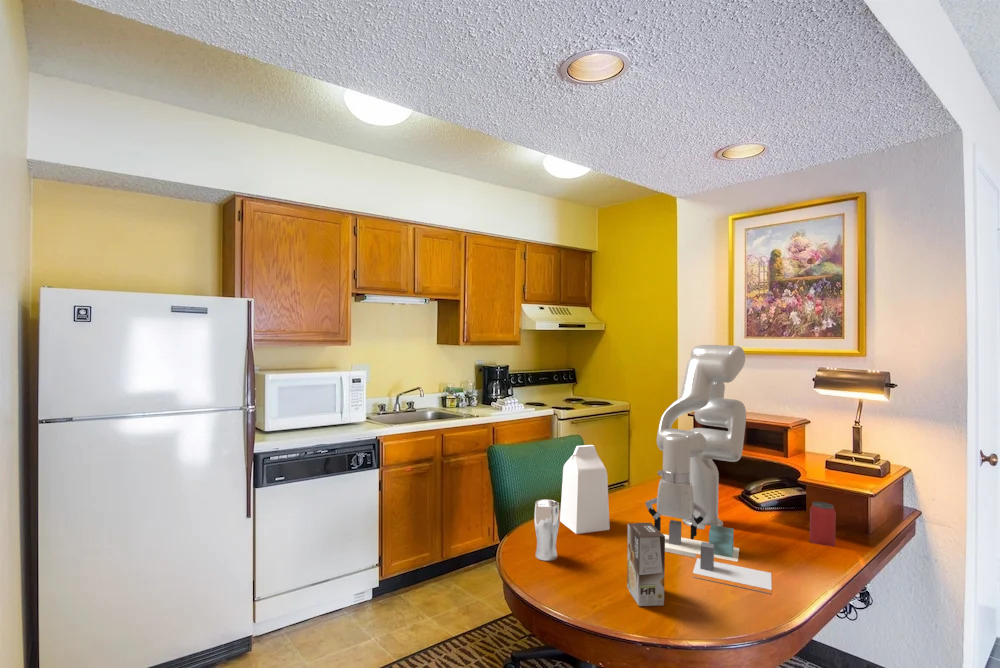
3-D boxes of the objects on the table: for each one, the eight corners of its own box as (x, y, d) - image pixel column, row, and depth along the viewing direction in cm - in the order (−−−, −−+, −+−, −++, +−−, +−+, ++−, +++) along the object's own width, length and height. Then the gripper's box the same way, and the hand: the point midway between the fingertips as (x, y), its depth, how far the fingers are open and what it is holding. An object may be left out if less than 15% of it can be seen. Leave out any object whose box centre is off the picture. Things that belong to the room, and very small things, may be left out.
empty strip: (692, 577, 133) (693, 549, 133) (697, 562, 142) (697, 536, 142) (771, 594, 124) (772, 565, 124) (771, 577, 133) (771, 549, 133)
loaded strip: (654, 549, 150) (654, 524, 150) (660, 537, 159) (660, 514, 159) (737, 566, 140) (738, 539, 140) (739, 552, 149) (739, 527, 149)
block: (708, 553, 145) (709, 531, 145) (710, 545, 150) (711, 524, 150) (732, 557, 142) (732, 535, 142) (733, 549, 148) (733, 528, 147)
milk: (576, 534, 161) (577, 450, 161) (559, 521, 172) (561, 443, 172) (609, 529, 165) (610, 448, 165) (591, 517, 176) (592, 441, 176)
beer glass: (561, 553, 147) (561, 500, 147) (555, 563, 140) (556, 508, 140) (537, 549, 149) (538, 497, 149) (530, 559, 143) (531, 505, 143)
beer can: (839, 549, 152) (839, 509, 152) (814, 547, 154) (815, 507, 154) (829, 540, 159) (830, 501, 159) (806, 538, 160) (806, 500, 160)
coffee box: (665, 606, 119) (666, 536, 119) (638, 606, 119) (639, 537, 119) (650, 586, 128) (651, 522, 128) (625, 587, 128) (626, 522, 128)
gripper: (643, 475, 152) (642, 533, 153) (706, 484, 145) (705, 545, 145) (648, 469, 159) (647, 525, 159) (708, 477, 151) (707, 536, 151)
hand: (675, 534), depth 152 cm, fingers open, 9 cm apart
